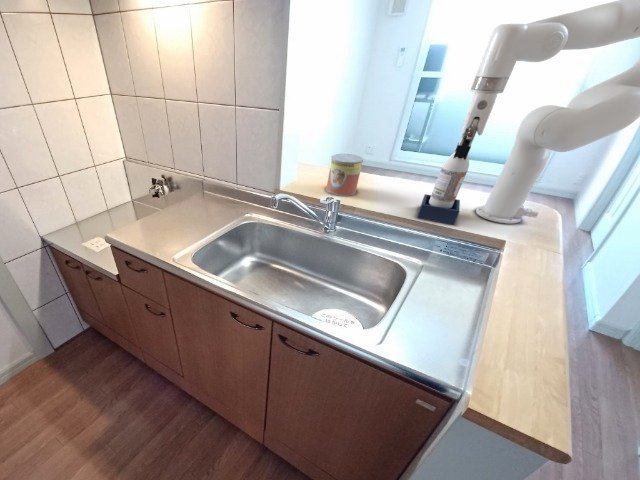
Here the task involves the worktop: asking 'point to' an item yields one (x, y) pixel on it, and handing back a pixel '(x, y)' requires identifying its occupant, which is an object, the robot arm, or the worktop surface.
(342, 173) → the canned food
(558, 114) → the robot arm
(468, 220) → the worktop surface
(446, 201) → the bath foam
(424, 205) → the holder
